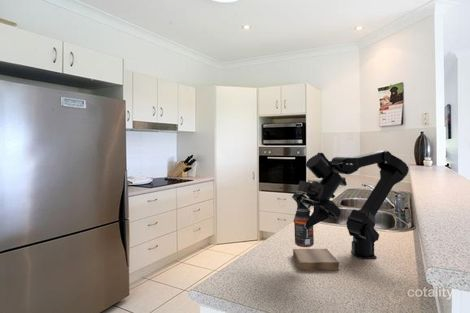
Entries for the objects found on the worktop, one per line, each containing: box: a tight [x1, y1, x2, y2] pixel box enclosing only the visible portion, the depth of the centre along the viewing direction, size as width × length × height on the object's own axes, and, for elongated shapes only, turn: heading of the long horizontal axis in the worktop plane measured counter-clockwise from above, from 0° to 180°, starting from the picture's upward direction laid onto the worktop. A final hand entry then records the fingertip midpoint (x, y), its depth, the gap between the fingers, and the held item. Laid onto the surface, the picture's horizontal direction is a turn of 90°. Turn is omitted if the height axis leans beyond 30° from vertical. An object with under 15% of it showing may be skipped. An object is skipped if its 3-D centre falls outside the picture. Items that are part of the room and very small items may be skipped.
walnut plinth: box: [292, 248, 340, 271], centre depth 95 cm, size 12×12×2 cm
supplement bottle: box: [293, 208, 315, 248], centre depth 91 cm, size 6×6×11 cm
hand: (300, 225), depth 90 cm, fingers closed on supplement bottle, 6 cm apart
